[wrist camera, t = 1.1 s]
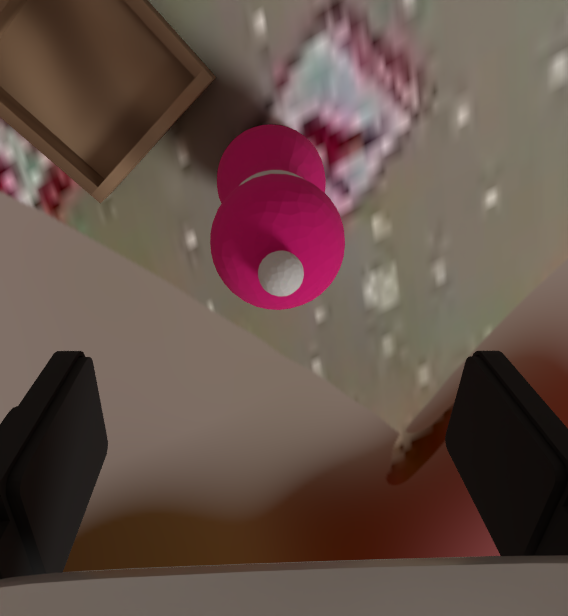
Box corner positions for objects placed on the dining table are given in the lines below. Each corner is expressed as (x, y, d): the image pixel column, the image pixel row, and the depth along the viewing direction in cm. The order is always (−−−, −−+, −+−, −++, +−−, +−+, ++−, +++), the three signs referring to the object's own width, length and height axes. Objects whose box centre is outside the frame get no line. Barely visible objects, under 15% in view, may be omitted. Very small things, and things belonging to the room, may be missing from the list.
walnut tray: (71, -85, 27) (54, -98, 25) (216, 77, 31) (213, 78, 29) (-34, 66, 30) (-58, 67, 28) (110, 193, 35) (100, 203, 33)
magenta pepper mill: (203, 144, 33) (143, 240, 16) (293, 98, 32) (336, 147, 15) (248, 230, 37) (240, 388, 19) (332, 191, 36) (404, 321, 18)
